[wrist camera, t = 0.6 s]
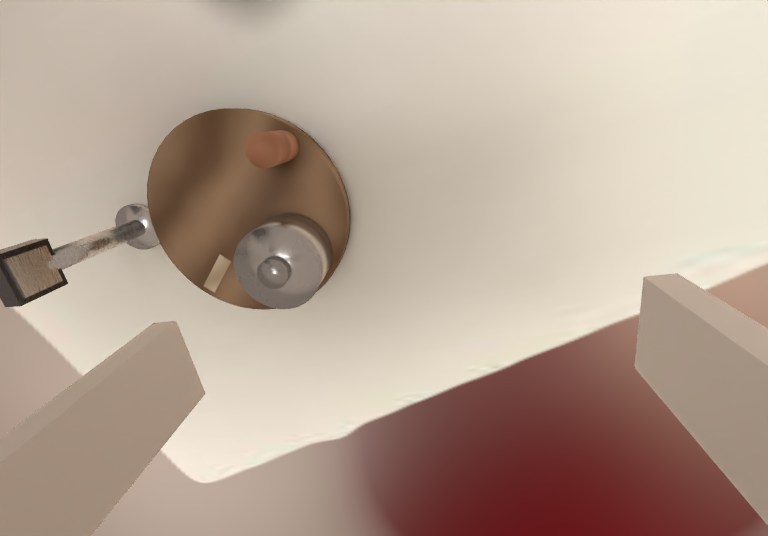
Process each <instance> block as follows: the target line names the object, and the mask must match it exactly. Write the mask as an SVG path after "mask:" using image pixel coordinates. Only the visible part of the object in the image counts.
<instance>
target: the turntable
mask: <svg viewBox="0 0 768 536" xmlns="http://www.w3.org/2000/svg"><path fill="white" fill-rule="evenodd" d="M147 199H148V208H149V213H150V217H151V222H152V225H153V227H154V230H155V233H156V235H157V237H158V239H159V241H160V243H161V245H162V247H163V249H164V250H165V252H166V254H167V255H168V257H169V258H170V259H171V261H172V262H173V263H174V265H175V266H176V267H177V268H178V269H179V270H180V271H181V272H182V273H183V274H184V275H185V276H186V277H187V278H188V279H189V280H190V281H191V282H193V283H194V284H195V285H196V286H198V287H199V288H200V289H202V290H203V291H205V292H206V293H208V294H210V295H212V296H214V297H216V298H217V299H220V300H222V301H225V302H227V303H230V304H233V305H237V306H240V307H245V308H251V309H276V308H272V307H268V306H266V305H263V304H261V303H259V302H258V301H256V300H255V299H253V298H252V297H251V296H250V295H249V294H248V293H247V292H246V291H245V290H244V289H243V287H242V286H241V284H240V283H239V281H238V279H237V277H236V273H235V269H234V254H235V251H236V248H237V246H238V244H239V243H240V241H241V240H242V239H243V238H244V237H245V236H246V235H247V234H249V233H250V232H251V231H253V230H254V229H256V228H257V227H259V226H260V225H262V224H263V223H265V222H266V221H268V220H269V219H271V218H272V217H274V216H276V215H279V214H283V213H298V214H302V215H305V216H307V217H309V218H311V219H313V220H314V221H316V222H317V223H318V224H319V225H320V226H321V227H322V228H323V229H324V230H325V232H326V233H327V235H328V237H329V239H330V241H331V244H332V249H333V259H332V264H331V266H330V269H329V270H328V272H327V274H326V275H325V277H324V279H323V280H322V282H321V284H320V285H319V287H318V289H317V290H316V292H317V291H318V290H319V289H320V288H321V287H322V286H323V285H324V284H325V283H326V282H327V281H328V279H329V278H330V277H331V276H332V274H333V273H334V271H335V269H336V267H337V266H338V264H339V262H340V260H341V259H342V256H343V254H344V251H345V249H346V245H347V241H348V237H349V228H350V211H349V205H348V199H347V195H346V192H345V188H344V185H343V183H342V181H341V178H340V176H339V174H338V172H337V170H336V168H335V167H334V165H333V163H332V162H331V160H330V159H329V157H328V156H327V155H326V153H325V152H324V151H323V149H322V148H321V147H320V146H319V145H318V144H317V143H316V142H315V141H314V140H313V139H312V138H311V137H310V136H308V135H307V134H306V133H305V132H303V131H302V130H301V129H299V128H298V127H296V126H294V125H293V124H291V123H290V122H288V121H286V120H284V119H281V118H279V117H277V116H275V115H272V114H268V113H265V112H262V111H256V110H249V109H218V110H211V111H207V112H204V113H201V114H198V115H195V116H193V117H191V118H189V119H187V120H185V121H184V122H183V123H181V124H180V125H178V126H177V127H176V128H174V129H173V130H172V132H171V133H170V134H169V135H168V136H167V137H166V138H165V139H164V141H163V142H162V144H161V145H160V146H159V148H158V150H157V152H156V154H155V156H154V158H153V161H152V164H151V168H150V171H149V177H148V184H147Z"/></svg>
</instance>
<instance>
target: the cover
mask: <svg viewBox="0 0 768 536" xmlns="http://www.w3.org/2000/svg"><path fill="white" fill-rule="evenodd" d="M332 259H333V249H332V244H331V241H330V239H329V237H328V235H327V233H326V232H325V230H324V229H323V228H322V227H321V226H320V225H319V224H318V223H317V222H316V221H314V220H313V219H311V218H309V217H307V216H305V215H302V214H298V213H283V214H279V215H276V216H274V217H272V218H271V219H269V220H268V221H266V222H265V223H263V224H262V225H260V226H259V227H257V228H256V229H254V230H253V231H251V232H250V233H249V234H247V235H246V236H245V237H244V238H243V239H242V240H241V241H240V243H239V244H238V246H237V248H236V251H235V254H234V269H235V273H236V277H237V279H238V281H239V283H240V284H241V286H242V287H243V289H244V290H245V291H246V292H247V293H248V294H249V295H250V296H251V297H252V298H253V299H255V300H256V301H258V302H259V303H261V304H263V305H266V306H268V307H272V308H277V309H290V308H295V307H298V306H300V305H302V304H304V303H306V302H307V301H308V300H309V299H310V298H311V297H312V296H313V295H314V294H315V292H316V290H317V289H318V287H319V285H320V284H321V282H322V280H323V279H324V277H325V275H326V274H327V272H328V270H329V269H330V266H331V264H332Z"/></svg>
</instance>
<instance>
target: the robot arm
mask: <svg viewBox="0 0 768 536" xmlns="http://www.w3.org/2000/svg"><path fill="white" fill-rule="evenodd" d="M635 368H636V369H637V371H638V372H639V373H640V375H641V376H642V377H643V378H644V379H645V380H646V382H647V383H648V384H649V385H650V386H651V388H652V389H653V390H654V391H655V392H656V393H657V395H658V396H659V397H660V398H661V399H662V401H663V402H664V403H665V404H666V405H667V406H668V408H669V409H670V410H671V411H672V412H673V414H674V415H675V416H676V417H677V418H678V420H679V421H680V422H681V423H682V424H683V425H684V427H685V428H686V429H687V430H688V431H689V433H690V434H691V435H692V436H693V437H694V438H695V440H696V441H697V442H698V443H699V444H700V446H701V447H702V448H703V449H704V450H705V451H706V453H707V454H708V455H709V456H710V457H711V458H712V460H713V461H714V462H715V463H716V465H717V466H718V467H719V468H720V469H721V471H722V472H723V473H724V474H725V475H726V476H727V477H728V479H729V480H730V481H731V482H732V484H733V485H734V486H735V487H736V488H737V489H738V491H739V492H740V493H741V494H742V495H743V497H745V499H746V500H747V501H748V502H749V504H750V505H751V506H752V507H753V508H754V509H755V511H756V512H757V513H758V514H759V516H760V517H761V518H762V519H763V520H764V521H765V523H766V524H767V525H768V329H767V328H766V327H764V326H762V325H761V324H759V323H757V322H756V321H754V320H753V319H751V318H749V317H748V316H746V315H744V314H743V313H741V312H739V311H738V310H736V309H735V308H733V307H731V306H730V305H728V304H726V303H725V302H723V301H721V300H720V299H718V298H717V297H715V296H713V295H712V294H710V293H708V292H707V291H705V290H703V289H702V288H700V287H699V286H697V285H695V284H694V283H692V282H690V281H689V280H687V279H685V278H684V277H682V276H680V275H679V274H668V275H657V276H647V277H644V279H643V289H642V299H641V309H640V319H639V328H638V338H637V349H636V359H635ZM204 395H205V391H204V389H203V386H202V384H201V381H200V379H199V376H198V374H197V371H196V369H195V366H194V364H193V361H192V359H191V357H190V354H189V352H188V349H187V347H186V344H185V342H184V339H183V337H182V334H181V332H180V329H179V327H178V325H177V322H176V321H171V322H161V323H153V324H152V325H151V326H149V327H148V328H147V329H145V330H144V331H143V332H141V333H140V334H139V335H137V336H136V337H135V338H133V339H132V340H131V341H129V342H128V343H127V344H125V345H124V346H123V347H121V348H120V349H119V350H117V351H116V352H115V353H113V354H112V355H111V356H109V357H108V358H107V359H105V360H104V361H103V362H101V363H100V364H99V365H97V366H96V367H95V368H93V369H92V370H91V371H89V372H88V373H87V374H85V375H84V376H83V377H81V378H80V379H79V380H77V381H76V382H75V383H73V384H72V385H71V386H69V387H68V388H67V389H65V390H64V391H63V392H61V393H60V394H59V395H58V396H56V397H55V398H53V399H52V400H51V401H49V402H48V403H46V404H45V405H44V406H42V407H41V408H40V409H38V410H37V411H36V412H34V413H33V414H32V415H31V416H29V417H28V418H26V419H25V420H24V421H22V422H21V423H20V424H18V425H17V426H16V427H14V428H13V429H12V430H10V431H9V432H8V433H6V434H5V435H4V436H2V437H1V438H0V536H91V535H92V534H93V532H94V531H95V530H96V529H97V528H98V526H99V525H100V524H101V523H102V521H103V520H104V519H105V518H106V516H107V515H108V514H109V513H110V511H111V510H112V509H113V507H114V506H115V505H116V504H117V503H118V501H119V500H120V499H121V498H122V496H123V495H124V494H125V493H126V492H127V490H128V489H129V488H130V487H131V485H132V484H133V483H134V481H135V480H136V479H137V478H138V477H139V475H140V474H141V473H142V472H143V470H144V469H145V468H146V467H147V465H148V464H149V463H150V461H151V460H152V459H153V458H154V457H155V455H156V454H157V453H158V452H159V451H160V449H161V448H162V447H163V446H164V444H165V443H166V442H167V441H168V439H169V438H170V437H171V436H172V434H173V433H174V432H175V431H176V429H177V428H178V427H179V426H180V424H181V423H182V422H183V421H184V419H185V418H186V417H187V416H188V414H189V413H190V412H191V411H192V409H193V408H194V407H195V406H196V405H197V403H198V402H199V401H200V400H201V398H202V397H203V396H204Z"/></svg>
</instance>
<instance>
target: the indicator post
mask: <svg viewBox="0 0 768 536" xmlns="http://www.w3.org/2000/svg"><path fill="white" fill-rule="evenodd" d="M115 222H116V227H113V228H110V229H107V230H105V231H102V232H99V233H96V234H94V235H91V236H88V237H85V238H82V239H80V240H77V241H74V242H71V243H69V244H66V245H63V246H60V247H58V248H55V249H52V248H51V246H50V243H49V241H48V239H34V240H30V241H27V242H24V243H21V244H17V245H14V246H11V247H8V248H5V249H2V250H0V298H1V300H2V302H3V304H4V305H5V307H14V306H22V305H24V304H26V303H28V302H31V301H33V300H35V299H37V298H39V297H41V296H43V295H45V294H47V293H49V292H52V291H54V290H56V289H58V288H60V287H62V286H64V285H66V284H68V282H67V280H66V278H65V276H64V274H63V271H62V269H65V268H67V267H69V266H72V265H74V264H76V263H79V262H81V261H83V260H86V259H88V258H90V257H93V256H95V255H97V254H100V253H102V252H104V251H107V250H109V249H111V248H114V247H116V246H118V245H121V244H123V243H125V242H127V243H128V244H129V245H131V246H133V247H135V248H138V249H149V248H152V247H154V246H156V245H157V244H159V243H160V241H159V239H158V237H157V235H156V233H155V230H154V227H153V225H152V222H151V217H150V213H149V208H148V207H146V206H144V205H140V204H132V205H128V206H125V207H123V208H121V209H120V210H119V211H118V213H117V215H116V221H115Z"/></svg>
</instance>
